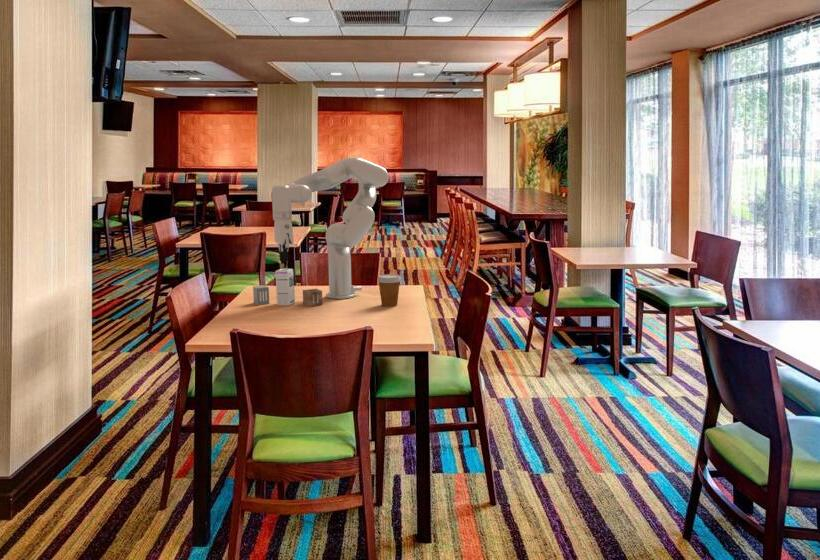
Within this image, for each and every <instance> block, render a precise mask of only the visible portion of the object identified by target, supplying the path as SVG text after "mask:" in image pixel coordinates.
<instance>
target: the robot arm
mask: <svg viewBox="0 0 820 560" xmlns="http://www.w3.org/2000/svg"><path fill="white" fill-rule="evenodd" d="M352 178H353V179H357V182H358V183H357V184H358V191H357V194H356V195H355V197H354V198H353V199H352V201H351V202H350V203H349V204H348V206H346V209H345V210H344V211H343V213H342V221H343V222H344V223H341V222H340V223H337V222H336V223H333V224H330V225H329V226H328V227H327V229H326V231H325V242H326V247H327V253H328V254H327V256H328V259H327V260H328V261H327V263H328V289H329V292H326V294H325V298H327V299H335V300H337V299H338V300H342V299H343V300H344V299H350V298H354V297H355V296H356V293H355V292H359V291H362V289H363V287H362V286H361V285H359V286H357V285H356V286H355V285H353V284H352V256H351V255H352V254H351V249H350V248H353V247H356V246H358V244H359V243H361V241H362V240H363V238H364V237H365V236H366V234H367V233H368V232H369V230H370V229H371V228H372V226H373V225H374V223H375V217H376V215H375V211H374V210H373V207H374V205H375V203H376V200H377V188H382V187H384V186H385V185H387V183H388V182H389V178H390V177H389V173H388V171H387V169H386V168H385V167H383V166H380V165H378V164H375V163H373V162H371V161H368V160H366V159H364V158H361V157H345V158H342V159H340V160H338V161H337V162H334V163H333V164H331V165H329V166H326V167H325V168H323V169H320V170H317V171H315V172H313V173H310V174H307V175H304V176H302V177H299V178H297V179H296V180H293V181H292V182H289V183H288V184H287V185H286V184H280V185H279V184H278V185H277V184H276V185H273V186H272V188H271V194H272V195H271V199H272V200H271V201H272V220H273V221H274V227H273V228H274V229H273V230H274V231H273V232H274V242H275V243H276V244H277V246H278V251H279V253H278V257H279V262H289V248H290V245H293V244H294V229H293V222H292V220H293V218H292V217H293V215H292V214H293V213H292V203H299V204H303V203H304V204H305V203H307V202H308V201H310V199H311V197H312V195H313V193H315V192H320V191H327V190H330V189H332V188H334V187H337V186H338V185H340V184H342V183H344V182H346V181H347V180H349V179H352Z"/></svg>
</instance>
